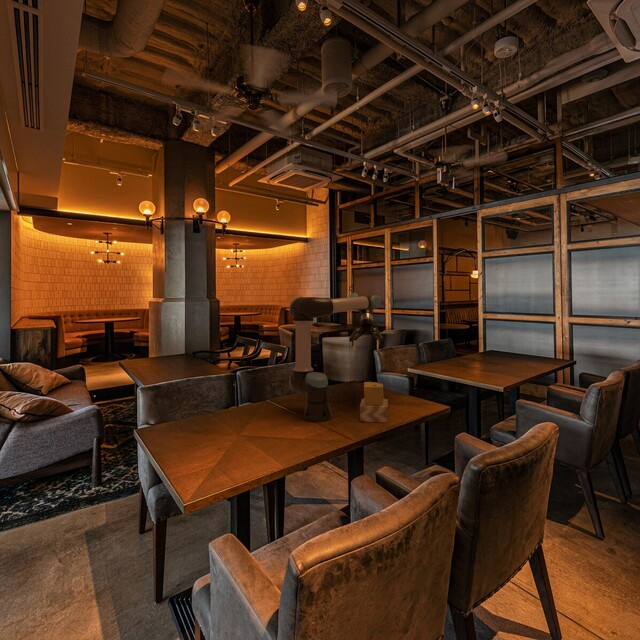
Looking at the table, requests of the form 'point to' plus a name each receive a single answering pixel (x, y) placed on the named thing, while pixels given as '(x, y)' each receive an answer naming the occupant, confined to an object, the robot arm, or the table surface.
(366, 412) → the chevron patterned block
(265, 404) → the table surface
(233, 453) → the table surface
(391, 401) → the table surface
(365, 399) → the cheese
